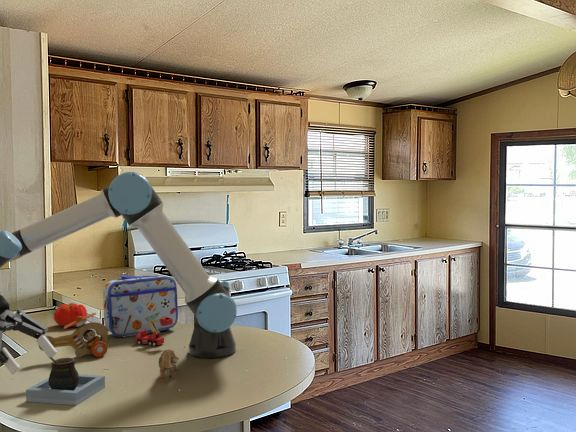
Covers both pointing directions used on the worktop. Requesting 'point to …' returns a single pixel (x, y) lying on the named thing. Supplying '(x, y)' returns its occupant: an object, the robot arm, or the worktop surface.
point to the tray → (66, 391)
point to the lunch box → (139, 303)
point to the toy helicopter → (77, 341)
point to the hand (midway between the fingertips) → (36, 362)
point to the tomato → (69, 313)
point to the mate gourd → (63, 374)
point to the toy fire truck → (154, 337)
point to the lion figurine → (167, 363)
